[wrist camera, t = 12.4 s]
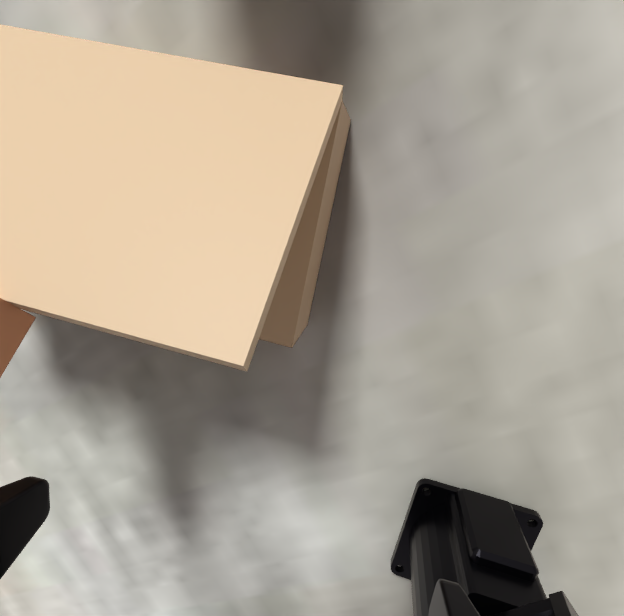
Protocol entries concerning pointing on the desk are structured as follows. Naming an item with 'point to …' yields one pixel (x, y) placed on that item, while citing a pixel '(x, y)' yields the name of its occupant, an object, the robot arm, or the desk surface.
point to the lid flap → (150, 191)
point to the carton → (307, 246)
